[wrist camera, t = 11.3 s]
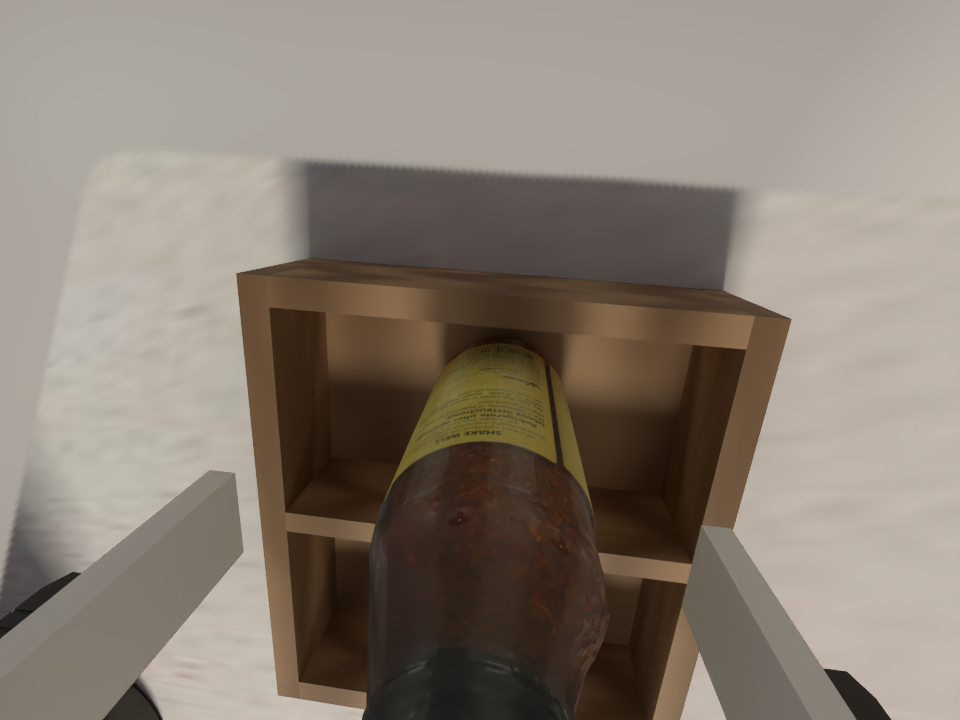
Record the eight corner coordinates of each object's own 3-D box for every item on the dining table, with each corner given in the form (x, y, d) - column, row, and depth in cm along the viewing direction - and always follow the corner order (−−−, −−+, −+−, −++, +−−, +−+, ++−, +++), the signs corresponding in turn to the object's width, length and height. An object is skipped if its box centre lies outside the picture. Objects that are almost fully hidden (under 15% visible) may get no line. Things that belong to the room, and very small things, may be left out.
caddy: (326, 603, 30) (278, 695, 24) (309, 258, 23) (236, 273, 18) (641, 649, 28) (668, 758, 23) (723, 291, 22) (791, 319, 16)
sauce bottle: (415, 390, 24) (-41, 1095, 5) (501, 304, 22) (300, 913, 3) (506, 473, 25) (418, 1336, 6) (596, 398, 23) (897, 1311, 4)
